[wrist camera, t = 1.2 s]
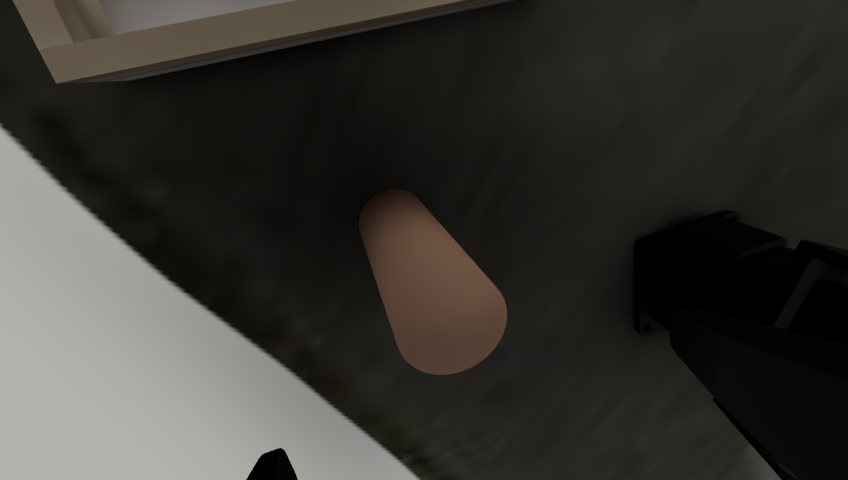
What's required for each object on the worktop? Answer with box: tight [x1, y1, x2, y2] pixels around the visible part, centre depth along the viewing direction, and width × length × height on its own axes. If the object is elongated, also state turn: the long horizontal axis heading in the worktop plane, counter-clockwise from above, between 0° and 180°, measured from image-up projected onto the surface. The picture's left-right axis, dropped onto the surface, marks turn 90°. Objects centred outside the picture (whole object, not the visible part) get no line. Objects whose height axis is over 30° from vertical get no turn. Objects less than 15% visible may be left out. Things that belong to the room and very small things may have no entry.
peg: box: [359, 189, 507, 375], centre depth 16 cm, size 3×3×9 cm
